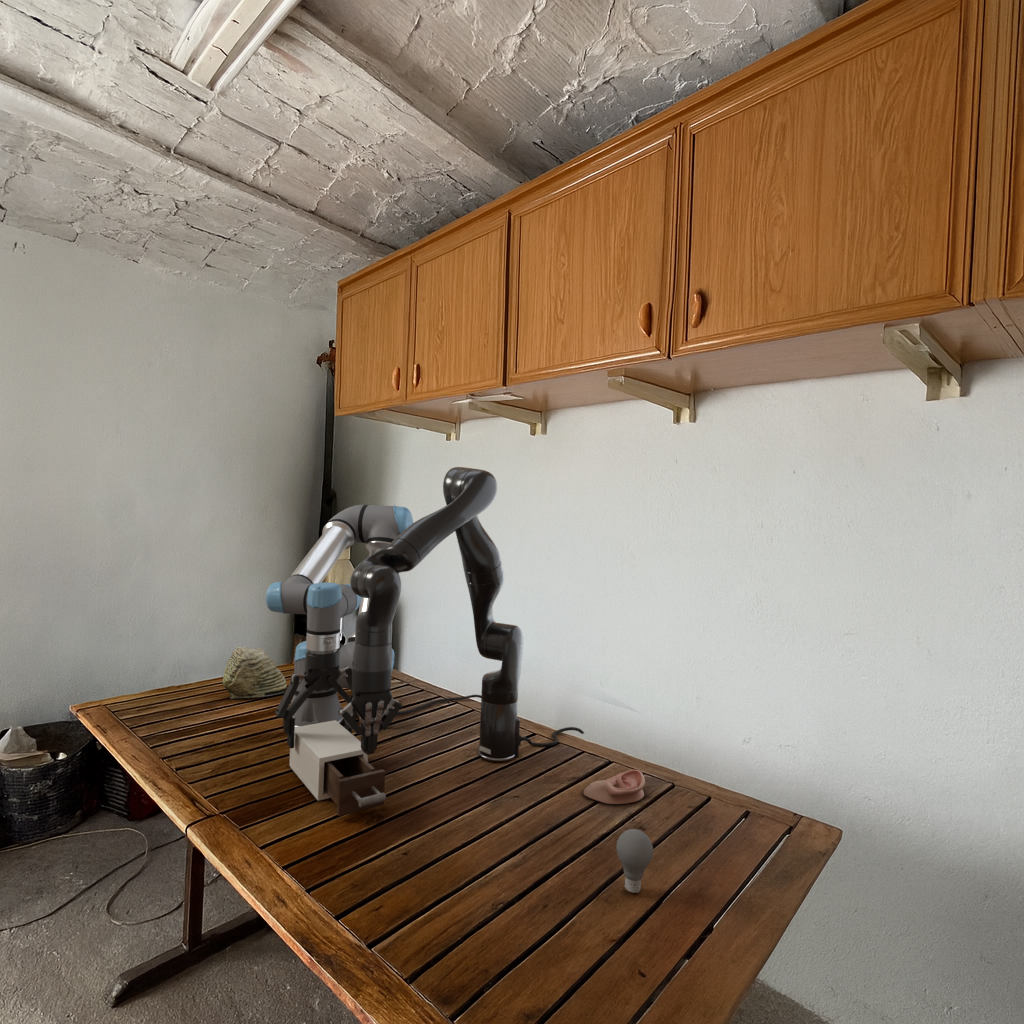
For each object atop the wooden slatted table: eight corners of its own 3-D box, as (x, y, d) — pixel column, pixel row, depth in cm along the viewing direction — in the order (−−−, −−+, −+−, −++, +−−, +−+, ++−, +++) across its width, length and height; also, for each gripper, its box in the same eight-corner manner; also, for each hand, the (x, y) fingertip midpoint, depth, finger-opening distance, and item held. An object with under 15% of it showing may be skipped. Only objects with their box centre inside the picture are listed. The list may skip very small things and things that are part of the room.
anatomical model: (582, 782, 137) (587, 761, 148) (581, 800, 137) (586, 778, 148) (645, 790, 134) (645, 768, 145) (644, 809, 134) (644, 785, 145)
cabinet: (366, 789, 138) (368, 748, 138) (317, 800, 132) (319, 758, 132) (334, 756, 154) (335, 720, 154) (289, 765, 148) (290, 727, 148)
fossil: (218, 695, 195) (220, 647, 195) (278, 685, 208) (279, 640, 207) (228, 703, 189) (230, 653, 188) (289, 692, 201) (290, 645, 201)
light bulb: (610, 879, 108) (613, 822, 108) (644, 879, 109) (647, 822, 109) (619, 902, 102) (622, 840, 102) (655, 901, 103) (658, 840, 103)
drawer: (395, 816, 125) (397, 781, 125) (349, 829, 120) (350, 792, 119) (350, 770, 145) (351, 740, 144) (308, 780, 139) (309, 749, 139)
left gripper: (271, 660, 137) (269, 757, 137) (379, 647, 151) (376, 735, 152) (262, 652, 143) (260, 745, 144) (367, 640, 157) (364, 725, 158)
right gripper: (346, 674, 117) (343, 766, 118) (411, 665, 125) (407, 752, 125) (332, 664, 123) (329, 752, 124) (394, 657, 131) (391, 740, 131)
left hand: (320, 740), depth 148 cm, fingers open, 13 cm apart
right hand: (368, 752), depth 125 cm, fingers closed
